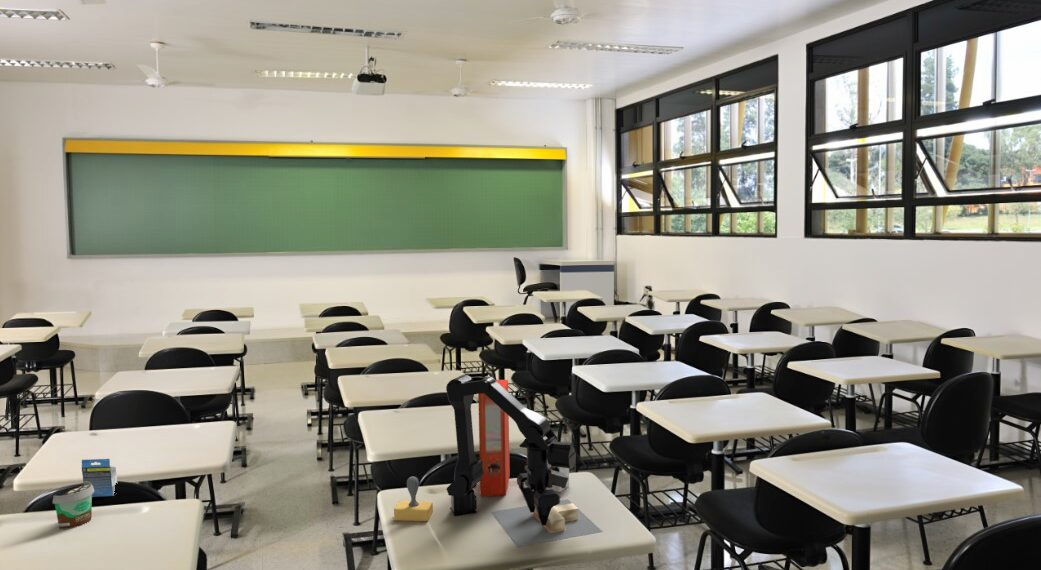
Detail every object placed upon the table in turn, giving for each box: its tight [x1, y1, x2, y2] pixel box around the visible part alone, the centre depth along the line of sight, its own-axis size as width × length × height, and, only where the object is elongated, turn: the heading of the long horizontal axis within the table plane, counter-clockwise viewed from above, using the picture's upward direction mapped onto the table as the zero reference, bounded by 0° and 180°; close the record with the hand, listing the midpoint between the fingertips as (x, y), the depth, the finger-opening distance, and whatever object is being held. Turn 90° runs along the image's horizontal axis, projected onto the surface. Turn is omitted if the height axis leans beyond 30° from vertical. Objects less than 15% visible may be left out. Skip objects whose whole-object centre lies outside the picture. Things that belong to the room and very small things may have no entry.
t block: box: [534, 502, 579, 532], centre depth 210 cm, size 10×14×3 cm
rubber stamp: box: [393, 476, 434, 522], centre depth 215 cm, size 10×6×12 cm, turn 83°
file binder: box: [477, 379, 511, 498], centre depth 236 cm, size 8×17×32 cm, turn 177°
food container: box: [52, 481, 94, 530], centre depth 217 cm, size 12×6×10 cm, turn 168°
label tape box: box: [81, 458, 118, 498], centre depth 237 cm, size 9×4×12 cm, turn 94°
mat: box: [490, 498, 603, 548], centre depth 209 cm, size 24×24×1 cm
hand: (538, 518), depth 208 cm, fingers open, 9 cm apart
